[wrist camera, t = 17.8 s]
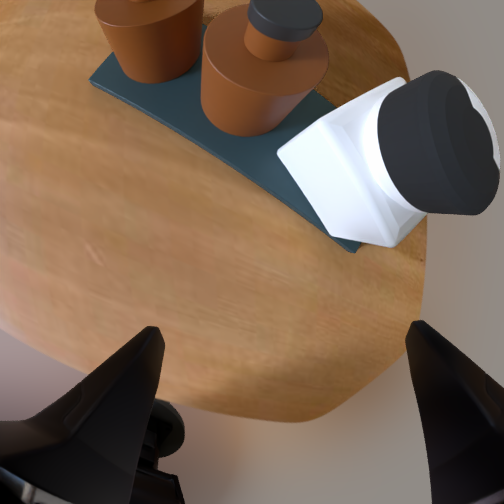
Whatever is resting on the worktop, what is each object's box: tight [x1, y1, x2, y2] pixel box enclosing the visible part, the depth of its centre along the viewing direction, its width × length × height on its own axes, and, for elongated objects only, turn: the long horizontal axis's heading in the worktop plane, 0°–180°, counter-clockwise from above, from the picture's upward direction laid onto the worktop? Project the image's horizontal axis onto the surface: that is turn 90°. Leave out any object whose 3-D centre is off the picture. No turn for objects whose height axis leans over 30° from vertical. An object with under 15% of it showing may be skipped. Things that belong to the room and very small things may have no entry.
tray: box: [89, 24, 361, 253], centre depth 17 cm, size 8×24×1 cm, turn 56°
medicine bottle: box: [277, 70, 500, 248], centre depth 13 cm, size 7×7×12 cm
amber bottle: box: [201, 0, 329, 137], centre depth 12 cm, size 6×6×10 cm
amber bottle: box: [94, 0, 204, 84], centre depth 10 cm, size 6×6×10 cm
